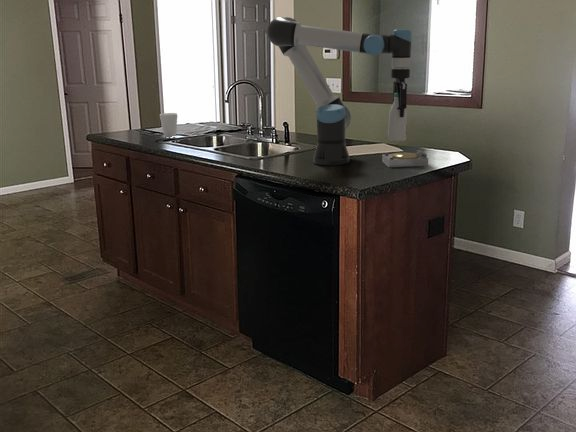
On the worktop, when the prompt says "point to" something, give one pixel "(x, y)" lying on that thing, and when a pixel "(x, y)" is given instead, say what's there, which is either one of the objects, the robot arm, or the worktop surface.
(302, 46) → the robot arm
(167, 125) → the foam cup
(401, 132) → the milk bottle
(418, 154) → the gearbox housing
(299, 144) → the worktop surface
